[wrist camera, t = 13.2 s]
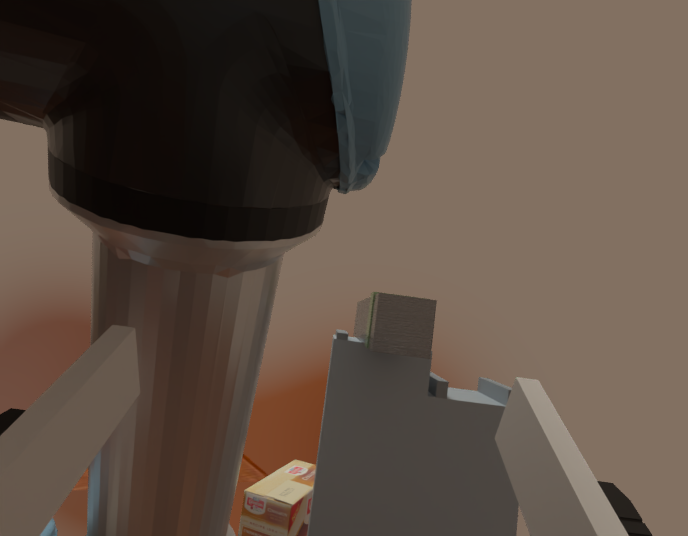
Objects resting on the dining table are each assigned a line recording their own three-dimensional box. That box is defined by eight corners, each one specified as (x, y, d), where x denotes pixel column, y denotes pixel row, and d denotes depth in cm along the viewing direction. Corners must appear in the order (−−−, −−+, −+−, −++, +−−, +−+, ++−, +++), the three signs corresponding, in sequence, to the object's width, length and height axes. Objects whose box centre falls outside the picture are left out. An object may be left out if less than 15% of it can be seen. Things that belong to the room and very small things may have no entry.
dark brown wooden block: (431, 359, 30) (438, 297, 30) (370, 351, 30) (377, 289, 30) (386, 339, 53) (390, 305, 54) (352, 335, 53) (356, 300, 54)
